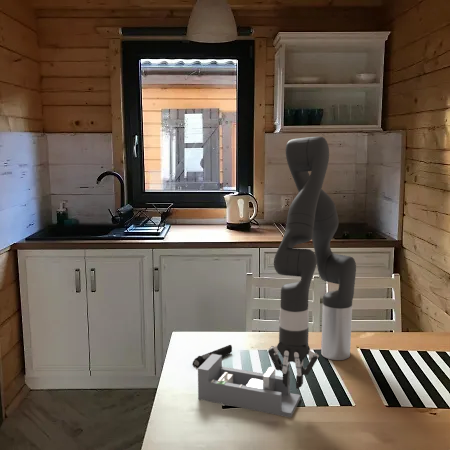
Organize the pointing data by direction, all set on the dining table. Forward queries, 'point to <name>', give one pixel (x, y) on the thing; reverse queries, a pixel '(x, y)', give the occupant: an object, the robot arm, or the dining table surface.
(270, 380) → the notched taupe block
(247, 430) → the dining table surface
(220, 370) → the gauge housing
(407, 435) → the dining table surface
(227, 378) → the drag pointer
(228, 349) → the electric trimmer
